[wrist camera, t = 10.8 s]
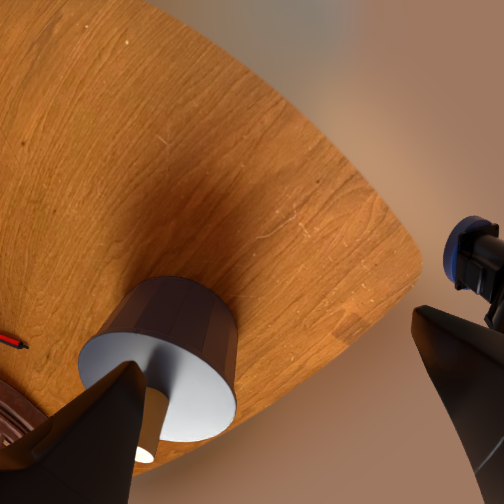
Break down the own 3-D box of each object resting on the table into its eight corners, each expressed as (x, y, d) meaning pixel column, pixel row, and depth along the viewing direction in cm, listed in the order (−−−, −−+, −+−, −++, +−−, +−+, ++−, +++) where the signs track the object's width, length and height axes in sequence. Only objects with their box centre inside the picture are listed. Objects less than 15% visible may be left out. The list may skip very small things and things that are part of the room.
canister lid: (207, 308, 15) (186, 387, 9) (253, 427, 18) (253, 490, 13) (59, 328, 16) (16, 380, 10) (128, 429, 19) (110, 479, 14)
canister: (218, 264, 21) (201, 320, 14) (249, 366, 25) (248, 432, 18) (104, 287, 22) (59, 337, 15) (149, 376, 26) (127, 433, 19)
